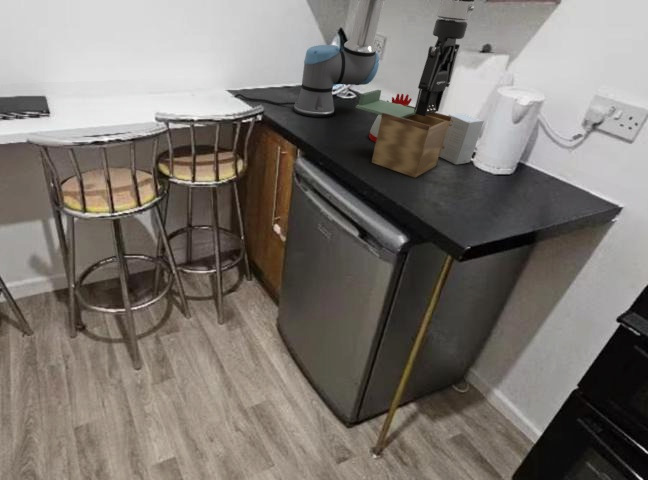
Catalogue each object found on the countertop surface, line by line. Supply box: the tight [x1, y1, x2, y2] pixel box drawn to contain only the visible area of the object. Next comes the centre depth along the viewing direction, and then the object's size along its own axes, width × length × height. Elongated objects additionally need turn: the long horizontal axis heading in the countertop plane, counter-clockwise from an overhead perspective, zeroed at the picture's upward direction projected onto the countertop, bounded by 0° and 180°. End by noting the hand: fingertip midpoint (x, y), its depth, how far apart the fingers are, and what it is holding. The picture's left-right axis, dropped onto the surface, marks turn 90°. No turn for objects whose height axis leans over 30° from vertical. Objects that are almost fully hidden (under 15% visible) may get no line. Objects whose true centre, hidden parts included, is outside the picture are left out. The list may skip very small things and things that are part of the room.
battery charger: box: [414, 69, 448, 114], centre depth 122 cm, size 7×4×11 cm, turn 124°
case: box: [371, 104, 451, 179], centre depth 131 cm, size 14×14×15 cm
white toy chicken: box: [368, 93, 413, 143], centre depth 150 cm, size 14×14×15 cm
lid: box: [355, 89, 416, 118], centre depth 132 cm, size 14×13×4 cm
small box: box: [439, 113, 485, 166], centre depth 138 cm, size 8×6×13 cm
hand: (426, 112), depth 125 cm, fingers closed on battery charger, 7 cm apart
